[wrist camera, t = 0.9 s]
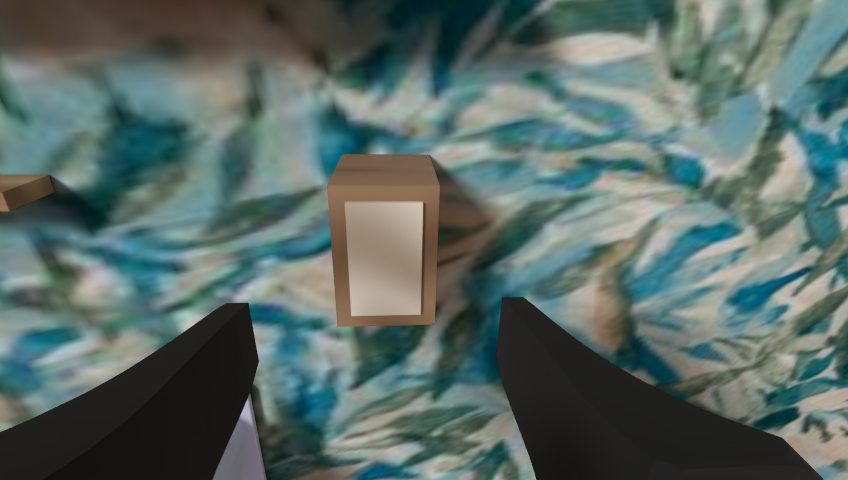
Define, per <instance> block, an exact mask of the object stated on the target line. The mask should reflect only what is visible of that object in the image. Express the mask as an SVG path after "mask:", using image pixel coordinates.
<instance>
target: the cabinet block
mask: <svg viewBox="0 0 848 480" xmlns="http://www.w3.org/2000/svg"><path fill="white" fill-rule="evenodd" d="M327 191H328V204H329V218H330V231H331V245H332V258H333V272H334V285H335V298H336V312H337V325H338V327H342V326H389V325H435V301H436V275H437V248H438V222H439V196H440V185H439V182H438V179H437V176H436V173H435V170H434V167H433V164H432V161H431V158H430V155H382V154H342V156H341V158H340V160H339V162H338V164H337V166H336V168H335V170H334V172H333V174H332V177H331V179H330V181H329V183H328V185H327Z"/></svg>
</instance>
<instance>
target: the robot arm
mask: <svg viewBox="0 0 848 480" xmlns="http://www.w3.org/2000/svg"><path fill="white" fill-rule="evenodd" d="M496 356H497V360H498V365H499V370H500V374H501V378H502V382H503V386H504V389H505V392H506V395H507V397H508V400H509V403H510V406H511V408H512V411H513V414H514V416H515V419H516V422H517V424H518V427H519V430H520V432H521V435H522V438H523V440H524V443H525V446H526V449H527V451H528V454H529V457H530V460H531V463H532V466H533V469H534V472H535V476H536V480H823V478H822V477H821V476H820V475H819V474H818V473H817V472H816V471H815V470H814V469H813V468H812V467H811V466H810V465H809V464H808V463H807V462H806V461H805V460H804V459H803V458H802V457H801V456H800V455H799V454H798V453H797V452H796V451H795V450H794V449H793V448H792V447H791V446H790V445H789V444H788V443H787V442H786V441H785V440H784V439H783V438H781V437H778V436H775V435H772V434H769V433H767V432H764V431H761V430H758V429H755V428H752V427H749V426H746V425H743V424H740V423H737V422H735V421H732V420H729V419H726V418H724V417H721V416H718V415H716V414H714V413H711V412H709V411H706V410H704V409H701V408H699V407H696V406H694V405H692V404H689V403H687V402H685V401H683V400H680V399H678V398H676V397H674V396H672V395H670V394H668V393H666V392H663V391H661V390H659V389H657V388H655V387H653V386H651V385H649V384H647V383H645V382H644V381H642V380H640V379H638V378H636V377H634V376H632V375H631V374H629V373H627V372H626V371H624V370H622V369H621V368H619V367H617V366H615V365H614V364H612V363H610V362H609V361H607V360H606V359H604V358H603V357H601V356H599V355H598V354H597V353H595V352H594V351H592V350H591V349H589V348H588V347H586V346H585V345H584V344H582V343H581V342H579V341H578V340H577V339H575V338H574V337H573V336H571V335H570V334H569V333H567V332H566V331H565V330H564V329H562V328H561V327H560V326H558V325H557V324H556V323H555V322H553V321H552V320H551V319H550V318H549V317H547V316H546V315H545V314H544V313H542V312H541V311H540V310H539V309H538V308H536V307H535V306H534V305H533V304H531V303H530V302H529V301H528V300H526V299H525V298H524V297H503V298H502V305H501V314H500V323H499V333H498V342H497V351H496ZM258 363H259V360H258V354H257V349H256V343H255V337H254V332H253V326H252V321H251V315H250V309H249V304H248V303H226V304H224V305H222V306H221V307H219V308H218V309H216V310H215V311H213V312H212V313H210V314H209V315H207V316H206V317H205V318H203V319H202V320H200V321H199V322H198V323H196V324H195V325H193V326H192V327H191V328H189V329H188V330H186V331H185V332H183V333H182V334H181V335H179V336H178V337H176V338H175V339H173V340H172V341H171V342H169V343H168V344H166V345H165V346H163V347H162V348H160V349H158V350H157V351H155V352H154V353H152V354H151V355H149V356H148V357H146V358H145V359H143V360H141V361H140V362H138V363H137V364H135V365H134V366H132V367H131V368H129V369H127V370H126V371H124V372H122V373H120V374H119V375H117V376H115V377H114V378H112V379H110V380H108V381H106V382H105V383H103V384H101V385H99V386H97V387H95V388H94V389H92V390H90V391H88V392H86V393H84V394H82V395H80V396H78V397H76V398H74V399H72V400H70V401H68V402H66V403H64V404H62V405H60V406H58V407H55V408H53V409H51V410H49V411H47V412H45V413H43V414H41V415H39V416H37V417H34V418H32V419H30V420H28V421H26V422H23V423H21V424H19V425H16V426H14V427H12V428H9V429H7V430H4V431H2V432H0V480H267V479H266V474H265V469H264V464H263V458H262V453H261V448H260V443H259V437H258V432H257V427H256V422H255V416H254V411H253V406H252V401H251V396H250V391H251V388H252V384H253V381H254V378H255V374H256V370H257V366H258Z"/></svg>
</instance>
